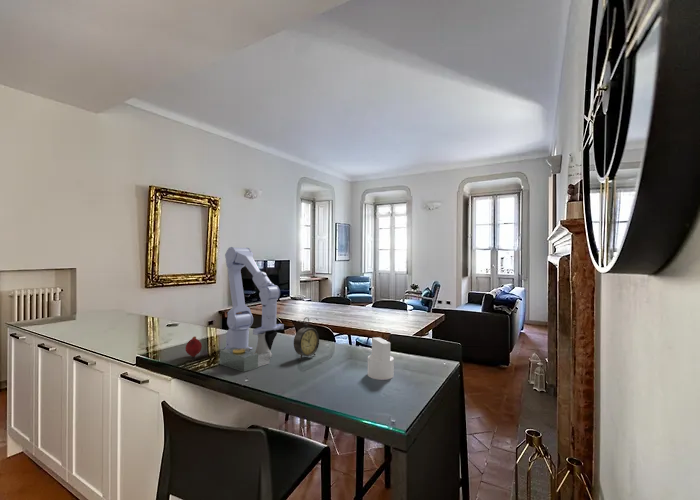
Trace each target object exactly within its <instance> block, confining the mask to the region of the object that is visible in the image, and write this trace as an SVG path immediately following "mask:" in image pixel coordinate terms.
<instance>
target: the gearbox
mask: <svg viewBox="0 0 700 500" xmlns="http://www.w3.org/2000/svg"><path fill="white" fill-rule="evenodd" d="M219 353H220V354H219V364H220V365H221V366H225V367H227V368H230V369H234V370H237V371H240V372H243V373H245V372H248V371H251V370H255V369H258V368H260V367H263V366H265V365H268V364H269V365H270V360H271V358H270V353H269V352H265V353H262V354H257V353H255V351H254V352H253V351H251V349H250V346H248V347H245V348H235V347H233V348H229V349H220V352H219Z"/></svg>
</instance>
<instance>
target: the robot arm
mask: <svg viewBox="0 0 700 500" xmlns="http://www.w3.org/2000/svg"><path fill="white" fill-rule="evenodd" d="M224 257H225V264H226V268H227V276H228V282H229V283H228V284H229V290H230V291H229V292H230V298H231V305H232V307H231V309H229V310H228V312H227V319H226V325H227V327H228V329H227V332H226V336H225V347H224V348H223V350H225V349H229V348H233V347H235V348H245V347H250V346H249V335H250V334H249V331H250V329H251V327H252V325H253V323H254V317H253V314H252V311H251V308H250V307H249V306H247V305H246V302H245V301H246V300H245V294H244V293H245V292H244V287H243V285H244V284H243V279H242V273H241V272H242V271H241V270H242V268H246V269H247V270H248V272H249V273H250V274H251V275H252V282H253V283H254V285H255V286H256V287H257V290H258V291H259V293H258V295H259V298H260V304H261V326H259V327H256V328H253V329H252V335H255V336H258V334H260V333H264V332H265V339H266V342H267V345H268V347H269V349H270V351H271V350H272V346H273V343H274V340H275V338H276V337H277V335H278V331H279V330H284V329H285V328H284V327H285V326H284V325H285V324H284V323H277V316H278V315H277V311H278V304H277V303H278V300H279V298H280V296H281V290H280V287H279V286H278V285H276V284H274V283H273V282H272V281H271V280H270V278H269V277H268V275H267V273H266V272H265V271H261V270H260V268H259V267H258V264H257V263H256V261H255V259H254V252H252V249H251V248H249V247H233V246H230V247H228V248H227V250H226V252H225V254H224ZM253 348H254V347H252V346H251V347H250V350H253Z"/></svg>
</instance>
